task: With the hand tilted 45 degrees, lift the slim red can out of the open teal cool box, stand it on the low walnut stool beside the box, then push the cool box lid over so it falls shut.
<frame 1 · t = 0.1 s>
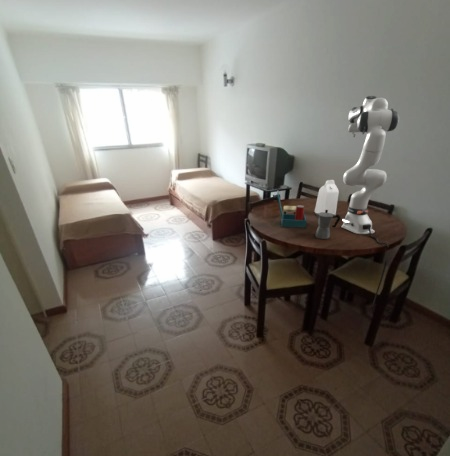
hand: (360, 136, 216), 54 cm above the table, tool tilted 30°, fingers open, 8 cm apart
can: (298, 223, 199), point 1 cm above the table, touching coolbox
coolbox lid: (277, 205, 195), point 14 cm above the table, hinge at 105.1°
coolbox: (293, 224, 200), on the table
coffeepot: (323, 237, 180), on the table
stool: (289, 217, 214), on the table
milk: (324, 213, 222), on the table
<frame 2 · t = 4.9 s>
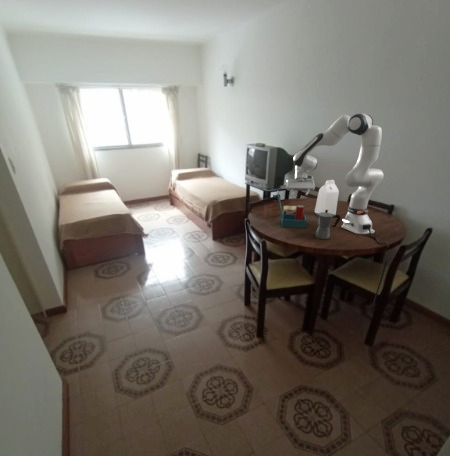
hand: (300, 195, 201), 19 cm above the table, tool tilted 45°, fingers open, 8 cm apart
nothing on the table moved.
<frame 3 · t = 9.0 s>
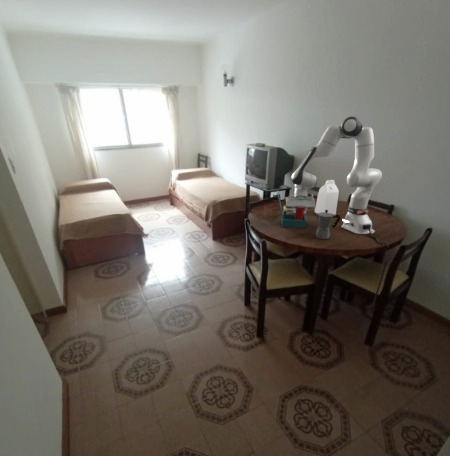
hand: (299, 213, 195), 9 cm above the table, tool tilted 45°, fingers closed on can, 5 cm apart
can: (298, 223, 199), point 1 cm above the table, touching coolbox, gripper
everything else where it was.
when the fingers open (16 cm above the table, at t = 15.8 s): can stays where it is, resting on stool.
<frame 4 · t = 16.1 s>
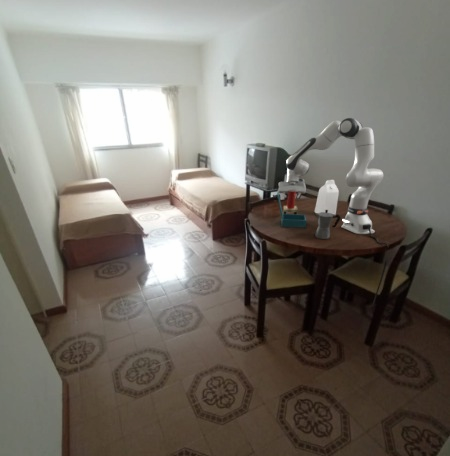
hand: (291, 198, 206), 16 cm above the table, tool tilted 45°, fingers open, 8 cm apart
can: (290, 207, 210), point 8 cm above the table, touching stool
everything else where it was.
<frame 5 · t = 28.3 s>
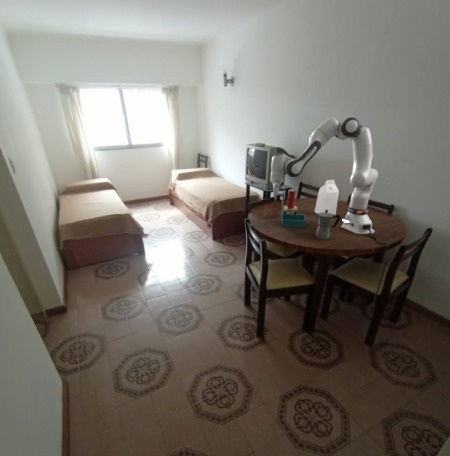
hand: (275, 199, 193), 19 cm above the table, tool pointing down, fingers closed, pressing on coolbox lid
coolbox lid: (280, 204, 195), point 15 cm above the table, hinge at 91.8°, touching gripper
everything else where it was.
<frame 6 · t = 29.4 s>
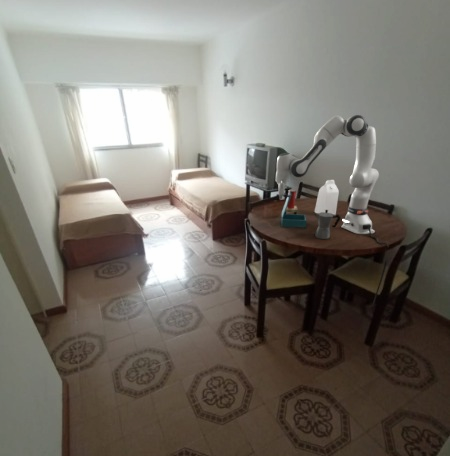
hand: (280, 199, 193), 19 cm above the table, tool pointing down, fingers closed
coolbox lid: (283, 203, 194), point 15 cm above the table, hinge at 76.0°
everything else where it was.
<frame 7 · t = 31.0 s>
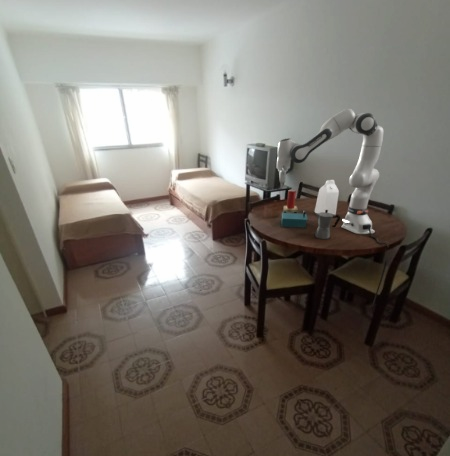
hand: (281, 186, 189), 27 cm above the table, tool pointing down, fingers closed
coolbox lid: (294, 213, 196), point 8 cm above the table, hinge at -0.1°
everything else where it was.
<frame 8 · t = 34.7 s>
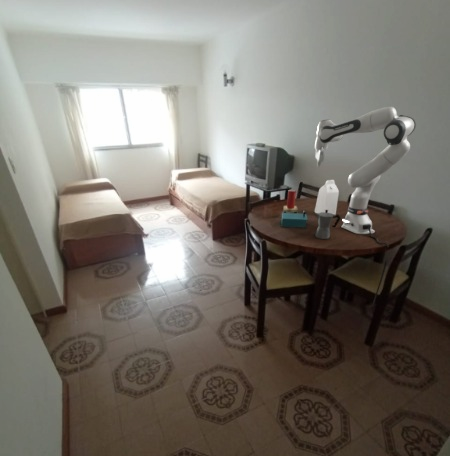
hand: (318, 166, 198), 37 cm above the table, tool pointing down, fingers closed
nothing on the table moved.
at the end: can inside the target area on the stool (0.1 cm from its centre), point 8.0 cm above the stool's base; can tilted 0°; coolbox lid at +0° (first picture: +105°) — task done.
